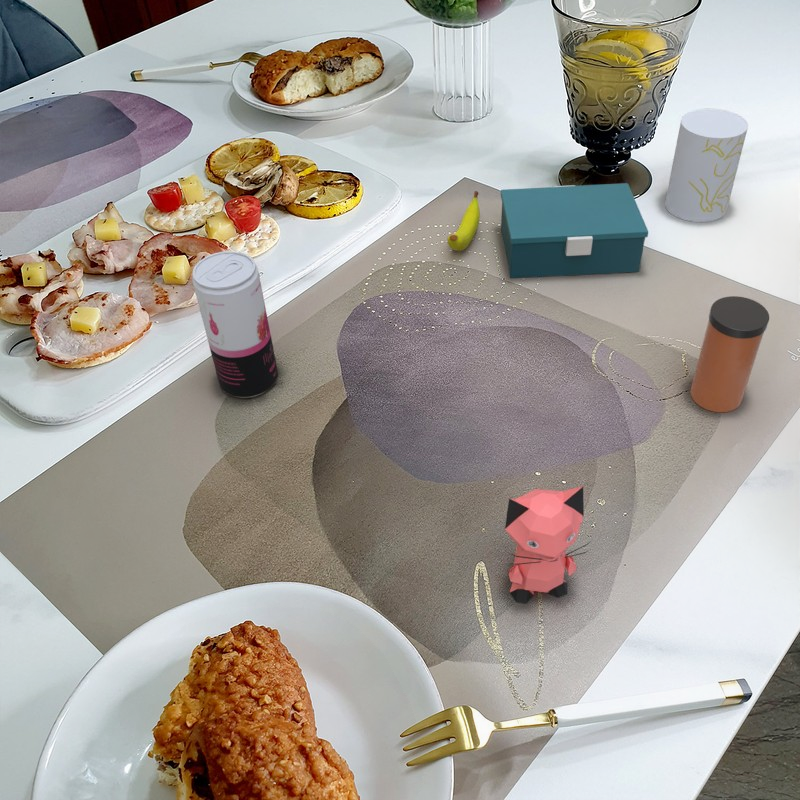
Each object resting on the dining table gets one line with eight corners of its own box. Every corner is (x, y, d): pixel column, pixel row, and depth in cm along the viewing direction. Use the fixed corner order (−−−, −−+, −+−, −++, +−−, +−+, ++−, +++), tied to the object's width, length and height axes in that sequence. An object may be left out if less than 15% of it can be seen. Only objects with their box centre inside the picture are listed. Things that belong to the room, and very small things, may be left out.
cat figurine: (507, 622, 72) (513, 534, 64) (487, 556, 77) (491, 467, 68) (588, 607, 73) (605, 519, 64) (563, 543, 77) (576, 453, 69)
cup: (690, 228, 113) (708, 143, 105) (652, 199, 119) (668, 117, 110) (739, 212, 115) (762, 128, 107) (700, 185, 121) (719, 103, 112)
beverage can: (290, 378, 95) (270, 266, 85) (243, 409, 92) (216, 297, 81) (254, 352, 99) (230, 242, 88) (207, 381, 95) (177, 270, 85)
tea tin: (733, 376, 92) (758, 294, 85) (749, 412, 88) (777, 329, 81) (683, 379, 92) (704, 297, 85) (697, 414, 88) (720, 332, 81)
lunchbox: (620, 221, 115) (627, 181, 111) (642, 275, 106) (649, 233, 102) (498, 227, 115) (500, 187, 111) (509, 281, 106) (511, 241, 102)
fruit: (469, 221, 117) (469, 188, 113) (483, 223, 116) (484, 190, 113) (444, 262, 110) (444, 228, 106) (460, 265, 109) (460, 231, 106)
